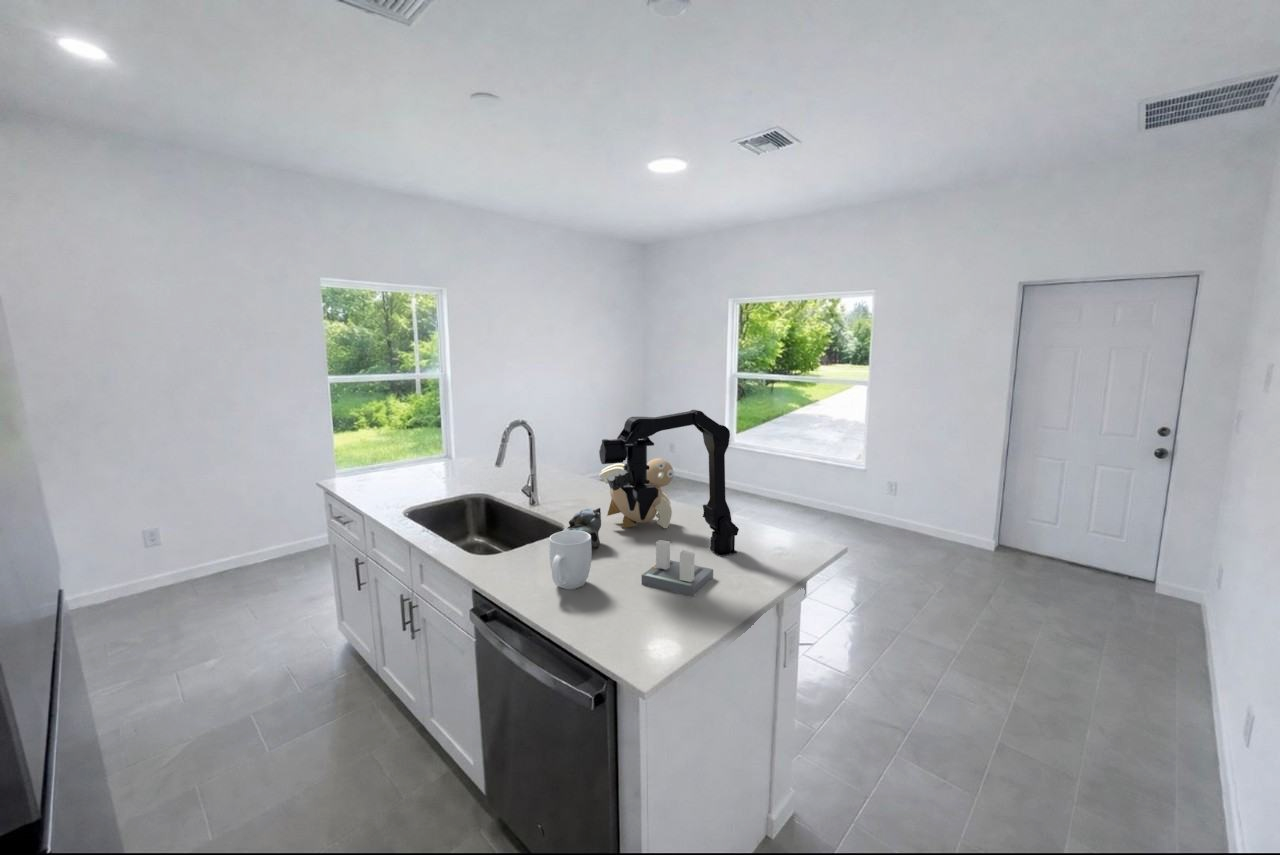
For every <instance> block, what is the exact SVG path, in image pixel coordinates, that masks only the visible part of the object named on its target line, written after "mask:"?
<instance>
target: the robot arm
mask: <svg viewBox="0 0 1280 855" xmlns="http://www.w3.org/2000/svg"><path fill="white" fill-rule="evenodd" d="M623 426H624V427H623V428H622V430H621V431H620V434H619V435H618V436H617V437H616V439H607V438H604V439H602V440H601V445H600V446H599V450H598V451H599V452H598V453H599V459H600V460H599V461H600V463H601V464H602V465H610V464H611V465H613V464H618V463H621V464H625V466H624V470H622V471H619V472H617V473H615V474H612V475H610V476H608V477H607V481H608V483H607V484H608V485H609V489H610V488H612V489H613V490H614V491H615V490H618V489H619V488H621V489H622V490H623V491H624V492H625V494H626V498H627V501H628V505H629V509H630V511H634V508H635V505H636V502H638V507H639V514H640V519H641V520H644V519H645V517H646V515H647V513H648V511H649V509H650V507H651V505H652V503H653V502H654V500H655V499H656V498H657V497H658V489H657V488H656V487H654V486H653V485H651V484H650V485H645V484H649V480H648V479H647V470H649V466H648V465H647V464H648V447H651V446H653V447H654V446H655V443H654V442H653V440H651V439H650V437H651V436H653V435H655V434H656V433H659V432H661V431H667V430H673V429H678V428H682V427H689V426H694V427H695V428H696V429H697V430H698V431H699V432H700V433H701V434H702V437H703V438H702V439H703V444H704V446H705V449H706V450H707V453H708V483H709V486H708V487H709V499H708V501H707V504H702V509H703V513H702V518H704V520H705V522H706V524H708V526H709V528H710V529H711V530H713V531H711V536H710V547H709V548H710V549H711V550H712V552H713V551H714V552H715V553H714V552H713V553H714V554H715V555H717V554H718V555H722V556H727V555H726V554H728V555H734V554H733V553H735V554H738V551H737V550H736V549H735V548H736V547H735V546H736V543H735V542H736V539H735V538H736V536H738V533H739V531H740V528H739V527H738V526H737V525H736V524H735V523H734V522H733V520H732V515H731V514H732V513H731V510H730V507H729V505H728V503H727V500H726V460H725V455H726V452H727V450H728V448H729V446H730V439H731V438H730V437H731V432H730V429H729V428H728V427H727V426H725V425H723V424H720V423H718V422H716V421H715V420H713V419H712V418H710V417H709V416H707V415H706V414H705V413H704V412H703V411H701V410H699V409H691V410H688V411H683V412H677V413H671V414H667V415H660V416H659V415H658V416H631V417H630V416H629V417H628V418H627V419H626V420H625V422H624V425H623ZM624 461H626V463H624ZM710 549H709V550H710ZM711 550H710V551H711ZM718 555H717V556H718Z"/></svg>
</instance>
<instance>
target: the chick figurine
mask: <svg viewBox="0 0 1280 855" xmlns="http://www.w3.org/2000/svg"><path fill="white" fill-rule="evenodd" d="M625 464H626V463H613V464H611V465H608V466H606V467H605V468H603V469H601V472H600V473H599V474H598V477H599V478H600V479H601V480H602V481H604V483H605V484H609V483H608V481H607V477H608V476H610V475H612V474H615V473H617V472H619V471H622V470H624V466H625ZM647 465H648V466H649V470H647V479H648V480H649V484H645V485H650V484H651V485H653V486H654V487H656V488H657V489H658V497H657V498H656V499H655V500H654V502H653V503H652V505H651V507H650V509H649V511H648V513H647V515H646V517H645V519H644V520H641V519H640V514H639V507H638V502H636V505H635V508H634V511H630V509H629V505H628V501H627V498H626V494H625V492H624V491H623V490H622V489H621V488H619V489H618V490H615V491H614V490H613V489H612V488H610V487H609V495H610V497H611V500H610V502H609V507H608V510H607V511H608V512H607V517H608V516H612V515H616V514H620V513H621V514H622V515H623V518H622V524H621V529H625V528H629V527H634V526H637V523H641V524H642V523H648V522H651V521H652V520H653V519H654V518H658V519H657V521H656V523H657V524H658V525H659V526H661V527H662V529H663V528H664V529H665V528H667V529H668V527H669V525H670V523H671V520H672V515H673V514H672V513H673V512H672V507H671V501H670V499H669V497H668V495H666V493H664V492H663V490H662V487H665V486H668V485H670V484H671V482H672V481H673V479H674V475H675V471H674V469H673V467H672V465H671V463H670V462H668V460H666V459H664V458H659V457H658V458H657V457H656V458H653V459H651V460H649V461H647Z"/></svg>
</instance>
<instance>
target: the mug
mask: <svg viewBox="0 0 1280 855" xmlns="http://www.w3.org/2000/svg"><path fill="white" fill-rule="evenodd" d="M548 540H549V542H548V543H549V544H548V548H549V550H548V552H549V563H550V564H549V565H550V570H551V578H552V581H553V583H554V585H556V586H557V587H559V588H561V589H563V588H564V589H563V590H576V588H577V589H580V588H581V586H582V587H583V586H584V585H585V583H586V581H587V580H588V578H589V574H590V571H591V565H592V554H593V552H592V551H593V550H592V546H591V535H590V534H589V533H587V532H584V531H576V530H569V531H564V530H563V531H562V530H561V531H557V532H555V533H553V534H551V535H550V536H549V539H548ZM579 587H580V588H579Z"/></svg>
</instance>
